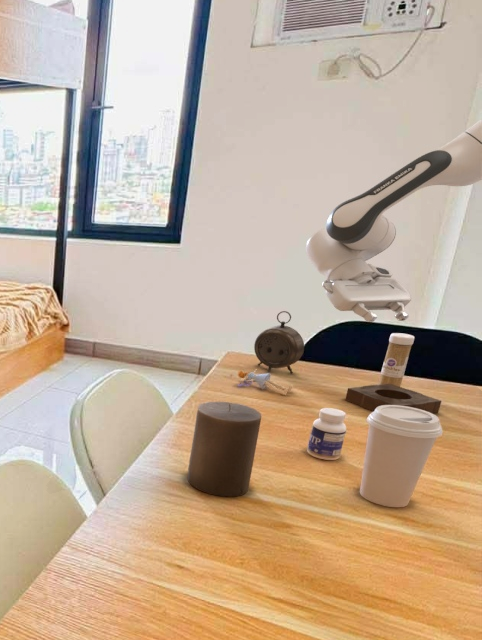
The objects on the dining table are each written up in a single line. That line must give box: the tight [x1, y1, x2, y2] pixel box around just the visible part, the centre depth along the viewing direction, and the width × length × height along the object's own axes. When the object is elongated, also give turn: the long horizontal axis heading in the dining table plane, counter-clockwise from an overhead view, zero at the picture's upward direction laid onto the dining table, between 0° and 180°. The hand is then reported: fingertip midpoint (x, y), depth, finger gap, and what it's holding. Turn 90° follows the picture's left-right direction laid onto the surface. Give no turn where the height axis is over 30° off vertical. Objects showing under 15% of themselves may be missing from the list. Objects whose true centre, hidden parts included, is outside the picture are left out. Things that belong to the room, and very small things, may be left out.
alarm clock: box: [253, 310, 305, 375], centre depth 165 cm, size 11×5×16 cm, turn 34°
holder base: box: [344, 384, 442, 415], centre depth 141 cm, size 12×12×3 cm
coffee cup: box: [359, 405, 443, 508], centre depth 101 cm, size 10×10×15 cm
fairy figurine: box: [237, 368, 294, 396], centre depth 154 cm, size 12×5×12 cm
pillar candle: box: [187, 401, 262, 498], centre depth 107 cm, size 10×10×15 cm
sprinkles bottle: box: [377, 332, 415, 387], centre depth 151 cm, size 5×5×13 cm
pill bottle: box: [306, 407, 347, 461], centre depth 118 cm, size 5×5×9 cm
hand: (388, 319), depth 149 cm, fingers open, 8 cm apart
